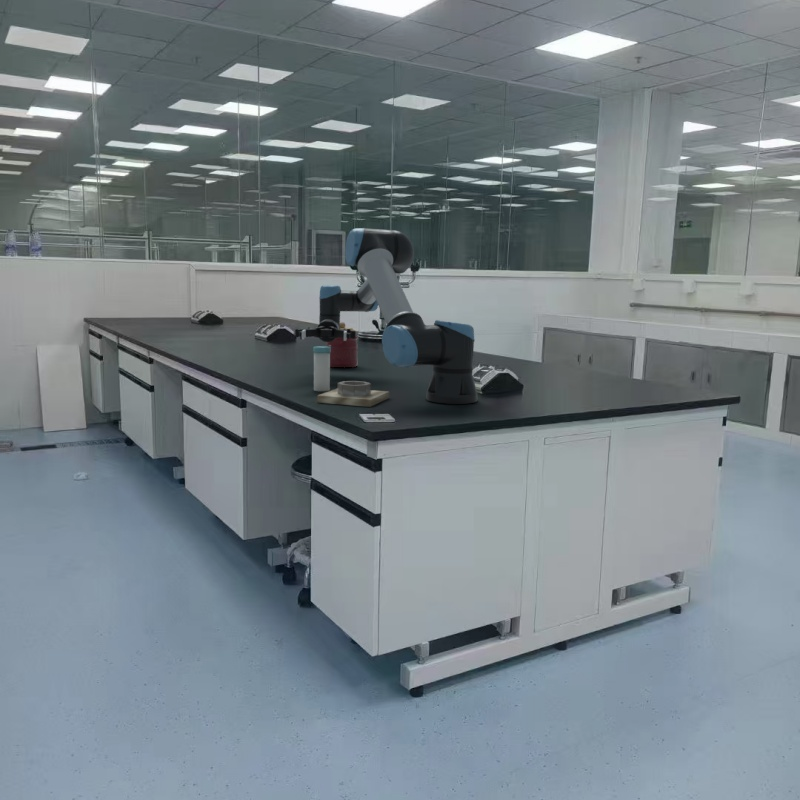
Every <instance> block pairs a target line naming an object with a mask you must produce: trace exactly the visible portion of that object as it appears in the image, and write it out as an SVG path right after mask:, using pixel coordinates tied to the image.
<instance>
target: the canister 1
mask: <svg viewBox="0 0 800 800" xmlns="http://www.w3.org/2000/svg"><path fill="white" fill-rule="evenodd" d="M330 352H331V347H328V346H326V345H321V346H320V345H317V346H313V349H312V353H313V391H314V392H329V391H331V386H330V384H331V383H330V382H331V381H330V380H331V377H330V376H331V375H330V374H331V367H330Z"/></svg>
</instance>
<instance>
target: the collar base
mask: <svg viewBox="0 0 800 800" xmlns="http://www.w3.org/2000/svg"><path fill="white" fill-rule="evenodd" d="M371 385H372V384H371V383H370V382H367V381H359V380H346V381H345V380H343V381H340V382H337V388H335V389H330V391H325V392H322V393H321V394H317V395H316V396H317V400H316V403H320V404H321V403H322V404H331V405H332V404H333V405H344V406H357V407H368V408H369V407H370V408H371V407H373V406H375V405H377V404H379V403H383V402H384V401H387V400H389V399H390V391H387V390H375V389H374V390H371V389H372V387H371Z"/></svg>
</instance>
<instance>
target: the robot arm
mask: <svg viewBox="0 0 800 800" xmlns="http://www.w3.org/2000/svg"><path fill="white" fill-rule="evenodd" d="M344 249H345V250H344V255H345V256H344V258H345V262H346V264H347V265H348V266H351V267H354V266H355V267H356V268H357V270H358V273H359V274H360V275H361V276H362V277H365V278H366V279H365V281H364V282H363V283H362V284H361V285H360V287H359V288H358V289H357V290H342V289H341V286H340V285H333V284H332V285H331V284H327V285H326V284H323V285H321V286H320V287H319V297H318V298H319V299H318V300H319V317H318V319H319V320H318V321H319V323H318V325H317V327H314V328H312V327H310V326H309V327H305V328H304V327H303V328H296V329H294V337H295V338H299V340H306V338H308V337H309V338H311V337H314V338H318V339H319V340H320V341H322V342H324V343H327V342H331V341H333V340H334V339H335V338H338V337H341V338H344V341H346V339H350V338H353V339H355V338H356V336H357V335H356V333H357V330H355V331H352V330H350V329H342V330H340V323H341V312H361V313H362V312H363V313H364V312H365V313H369V312H376V311H377V309H378V308H379V310H380V313H381V315H382V317H383V318H384V321H385V327H384V331H383V332H382V335H381V336H382V337H381V344H382V351H383V354H384V357H385V359H386V360H387V361H388V363H390V364H391V365H393V366H395V367H404V368H411V367H424V366H425V367H428V366H429V367H432V366H433V367H432V376H431V379H430V381H429V384H428V386H427V389H426V394H425V395H426V397H425V399H426V400H427V401H429V402H433V403H436V404H437V403H438V404H446V405H447V404H449V405H467V404H472V403H473V404H474V403H476V402H478V391H477V386H476V382H475V380H474V376H473V370H474V369H473V367H474V366H473V365H474V347H475V330H474V327H473V326H472V325H470V324H468V323H467V324H466V323H461V322H453V321H446V320H440V319H439V320H438V319H436V320H435V321H434V323H433V324H428V325H427V324H425V322H424V319H423V318H422V317H421V315H420V314H418V313H416V312H414V310H413V309H412V307H411V305H410V302H409V300H408V298H407V296H406V293H405V292H404V290H403V287H402V284H401V283H400V281H399V278H398V276H399V275H400V274H404V273H405V272H407V270H408V269H409V268H410V267H411V265H412V264H413V261H414V257H415V249H414V245H413V243H412V241H411V239H410V237H408V236H407V235H406V234H405V233H403V232H402V231H399V230H396V229H395V230H394V229H380V228H379V229H378V228H367V227H362V228H359V227H357V228H353V229H350V231H349V233H348V234H347V238H346V242H345V248H344Z"/></svg>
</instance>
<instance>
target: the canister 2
mask: <svg viewBox="0 0 800 800" xmlns="http://www.w3.org/2000/svg"><path fill="white" fill-rule="evenodd" d="M342 329H350V330H352V331H356V329H354V328H353V327H346V323H345V322H342V321H340V330H342ZM358 339H359V336H358V335H356V338H355V339H353V338H350V339H346V341H344V338H341V337H338V338H335V339H334V340H333V341H331V342H326V344H325V346H328V347H331V352H330V368H334V367H344V368H343V369H345V367H352V368H357V367H358V364H359V363H358V362H359V360H358V350H359V349H358V347H359V345H358ZM356 366H357V367H356Z"/></svg>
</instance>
